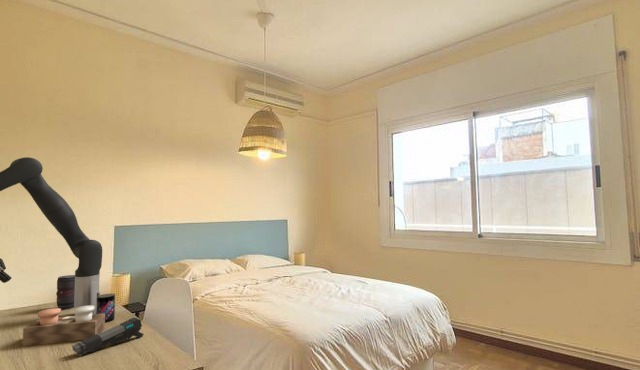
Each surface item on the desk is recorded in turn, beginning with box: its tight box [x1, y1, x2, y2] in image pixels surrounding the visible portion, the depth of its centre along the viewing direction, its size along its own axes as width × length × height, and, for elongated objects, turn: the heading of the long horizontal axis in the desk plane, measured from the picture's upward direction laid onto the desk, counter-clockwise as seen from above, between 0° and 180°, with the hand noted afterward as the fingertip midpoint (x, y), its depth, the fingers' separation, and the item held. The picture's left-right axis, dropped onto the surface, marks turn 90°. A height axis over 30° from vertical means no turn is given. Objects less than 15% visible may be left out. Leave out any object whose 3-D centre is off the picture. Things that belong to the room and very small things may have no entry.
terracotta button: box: [37, 307, 62, 325], centre depth 124 cm, size 7×7×7 cm
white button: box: [72, 305, 95, 322], centre depth 127 cm, size 7×7×7 cm
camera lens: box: [56, 274, 75, 311], centre depth 164 cm, size 8×8×15 cm
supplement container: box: [96, 293, 116, 324], centre depth 144 cm, size 7×7×10 cm
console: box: [22, 314, 106, 347], centre depth 125 cm, size 22×10×6 cm, turn 105°
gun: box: [71, 317, 144, 357], centre depth 116 cm, size 4×20×10 cm, turn 142°
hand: (8, 280), depth 122 cm, fingers closed
